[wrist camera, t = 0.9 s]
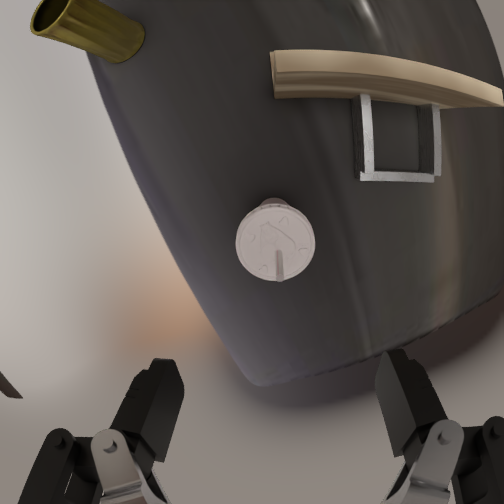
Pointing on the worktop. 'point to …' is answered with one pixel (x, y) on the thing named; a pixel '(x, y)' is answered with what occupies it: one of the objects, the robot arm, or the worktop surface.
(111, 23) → the vase
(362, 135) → the white u-shaped frame
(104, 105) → the worktop surface
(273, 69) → the wall board
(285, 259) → the smoothie
